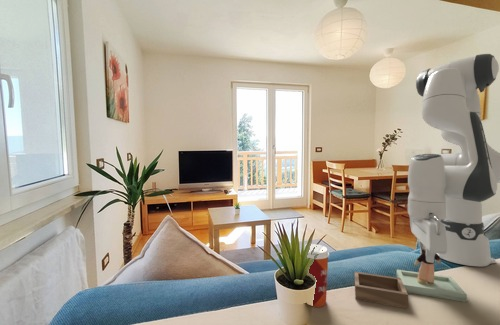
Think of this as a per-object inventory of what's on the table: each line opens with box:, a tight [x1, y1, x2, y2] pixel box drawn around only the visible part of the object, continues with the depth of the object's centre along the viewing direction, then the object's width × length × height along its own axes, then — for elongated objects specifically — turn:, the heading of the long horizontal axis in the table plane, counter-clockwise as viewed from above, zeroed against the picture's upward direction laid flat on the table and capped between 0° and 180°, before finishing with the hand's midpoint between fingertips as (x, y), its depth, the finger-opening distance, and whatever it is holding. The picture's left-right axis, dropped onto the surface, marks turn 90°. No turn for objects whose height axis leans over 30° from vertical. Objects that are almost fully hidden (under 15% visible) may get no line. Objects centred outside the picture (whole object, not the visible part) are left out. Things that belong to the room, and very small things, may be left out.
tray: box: [396, 269, 468, 303], centre depth 69 cm, size 10×14×2 cm
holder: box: [354, 271, 409, 310], centre depth 66 cm, size 9×12×4 cm
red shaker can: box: [304, 243, 330, 308], centre depth 64 cm, size 8×8×14 cm
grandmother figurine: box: [413, 245, 442, 284], centre depth 69 cm, size 8×4×13 cm, turn 104°
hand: (426, 258), depth 69 cm, fingers open, 3 cm apart
